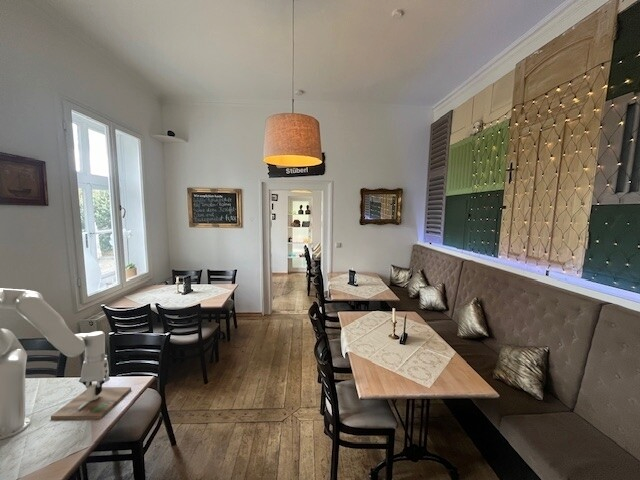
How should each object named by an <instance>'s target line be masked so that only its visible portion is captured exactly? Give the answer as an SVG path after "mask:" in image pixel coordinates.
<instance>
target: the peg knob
mask: <svg viewBox="0 0 640 480" xmlns="http://www.w3.org/2000/svg"><path fill="white" fill-rule="evenodd" d="M96 387H97V381H94V383H93V382H92V385H90V386H89V387H88V388H86V389H85V390H86V400H88V401H87V402H86V403H84V404H83V405H82V406H80V407H79V408H78V410H80V409H81V408H82V407H84V406H85V405H86V404H88V403H89V402H90V401H93V400H96V399H98V395H99V394H98V395H96ZM101 393H102V391H101ZM101 393H100V394H101Z"/></svg>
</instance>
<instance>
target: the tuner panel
mask: <svg viewBox="0 0 640 480" xmlns="http://www.w3.org/2000/svg"><path fill="white" fill-rule="evenodd" d="M86 390H87V389H85V390H84V391H83V392H81V393H80V394H79V395H77V396H75V397H74V398H73V399H72V400H70V401H69V402H68V403H66V404H65V405H64V406H62V407H61V408H60V409H58V410H57V411H55V412H54V413H52V415H50V419H51V420H101V419H102V418H103V417H104V416H105V415H106V414H107V413H108V412H110V410H113V408H114V407H115V406H116V405H117V404H118V403H119V402H120V401H121V400H122V399H124V397H126V396H127V395H128V394H129V393H130V392H131V391H132V387H131V386H130V387H129V386H128V387H127V386H124V387H122V386H121V387H120V386H119V387H117V386H116V387H115V386H112V387H110V386H102V393H101V394H99V395H98V399H96V400H93V401H90V402H89V403H88V404H86V405H85V406H84V407H82V408H81V409H80V410H78V408H79V407H80V406H82V405H83V404H84V403H86V402H87V401H88V400H86Z"/></svg>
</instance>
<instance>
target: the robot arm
mask: <svg viewBox="0 0 640 480" xmlns="http://www.w3.org/2000/svg"><path fill="white" fill-rule="evenodd" d="M0 309H10V310H11V309H13V310H15V311H16V312H17V313H18V315H20V316H22V318H24V319H25V320H26V321H27V322H29V323H30V324H31V325H32V326H33V327H34V328H35V329H37V331H38V332H40V334H41V335H42V336H43V337H44V338H45V339H46V340H47V341H48V342H49V343H50V344H51V345H52V346H53V347H54V348H55V349H56V350H58V351H59V352H60V353H61V354H63V355H64V356H66V357H67V358H68V357H69V358H75V357H78V356H80V355H82V353H83V352H84V360H83V363H82V366H81V373H80V378H79V380H78V382H79V383H80V384H82V385H84V386H85V389H87V388H88V387H89V386H90V385H92V384H93V382H96V381H97V387H96V395H98V394H100V393H101V391H102V387H103V384H104V383H105V384H106V383H107V382H109V381H110V380H111V378H110V376H109V374H110V372H109V361H108V359H107V358H108V354H106V351H105V349H106V333H105V332H104V331H102V330H97V331H96V330H95V331H91V332H86V333H74V332H73V331H72V330H71V329H70V328H69V326H68V325H67V323H66V322H65V319H64V318H63V316H62V315H60V313H59V312H57V311H56V310H55V309H54V308H53V307H52V306H51V305H49V303H48V302H46V300H44V297H43V295H42V293H40V292H38V291H36V290H27V289H17V288H16V289H15V288H14V289H13V288H3V287H2V288H1V287H0ZM27 360H28V354H27V352H26V349H24V347H23V346H22V344H21V342H20V341H19V339H18V338H17V336H16V335H15V334H14V332H13V331H11V330H10V329H7V328H1V327H0V441H2V440H4V439H8V438H10V437H11V438H12V437H14V436H15V435H17V434H20V433H21V432H22V431H24V430H25V429H27V428H28V427H29V426H30V425H31V418H30V417H28V416H26V367H27V366H26V365H27Z"/></svg>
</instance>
